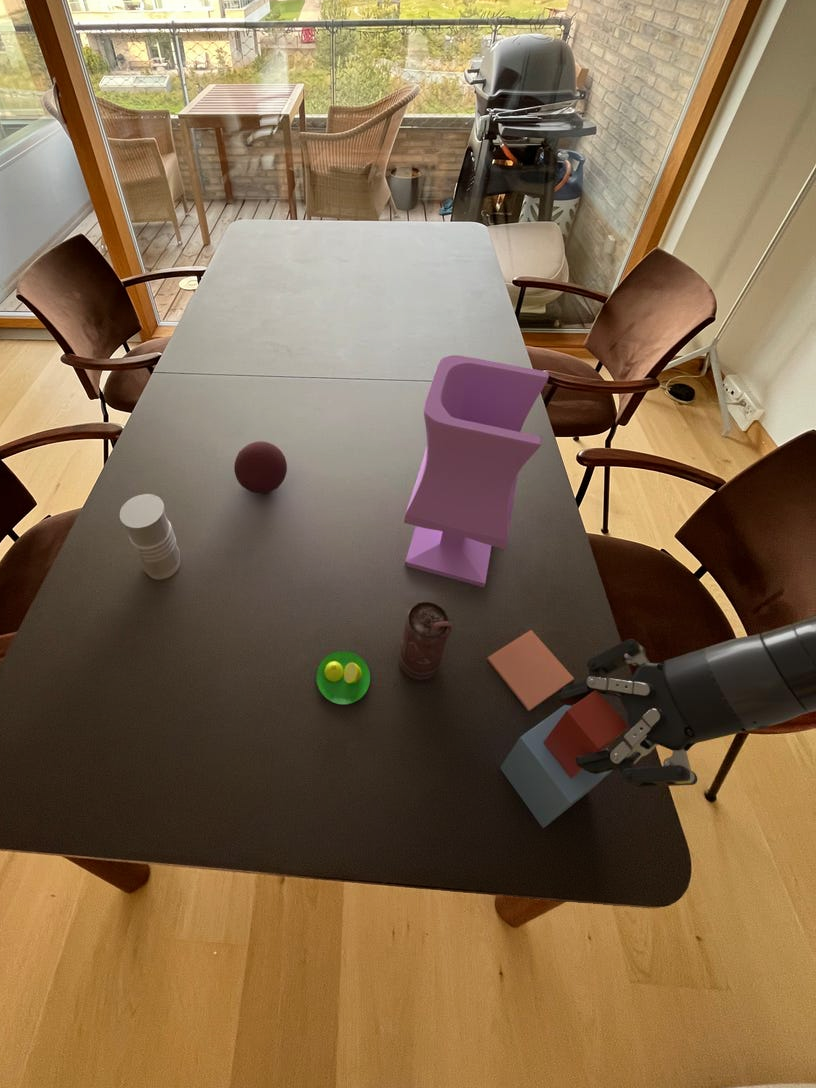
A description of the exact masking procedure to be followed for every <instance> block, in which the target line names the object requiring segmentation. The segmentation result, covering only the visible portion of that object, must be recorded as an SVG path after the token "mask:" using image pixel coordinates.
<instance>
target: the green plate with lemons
mask: <svg viewBox="0 0 816 1088" xmlns="http://www.w3.org/2000/svg"><path fill="white" fill-rule="evenodd" d="M370 683H371V672H370V670H369V666H368V665H367V663H366V661H365V660H364V659H363V658H362V657H361V656H359V655H358V654H357V653H354V652H352V651H347V650H339V651H335V652H332V653H330V654H328V655H327V656H325V657H324V658H323V659H322V660H321V662H320V664H319V665H318V668H317V671H316V684H317V687H318V689H319V692H320V693H321V695H322V696H323V697H324V698H326V699H327V700H328V701H330V702H332V703H335V704H337V705H349V704H353V703H355V702H357V701H359V700H361V698H363V697H364V695H365V694H367V691H368V690H369V686H370Z"/></svg>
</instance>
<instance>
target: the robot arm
mask: <svg viewBox="0 0 816 1088" xmlns="http://www.w3.org/2000/svg"><path fill="white" fill-rule="evenodd" d="M646 654H647V649H646V647H644V646H643V645H641V644H640V642H638V641H636V640H635V639H633V638H628V639H626V640H624V641H622V642H620V643H618V644H616V645H615V646H613V647H610V648H609V649H607V650H604V651H603V652H601V653H599V654H597V655H595V656H593V657H591V658H589V659H588V660H587V662H586V667H587V669H588V676H587V678H586V679H584V680H582V681H578V682H575V683H572V684H569V685H566V686H564V687H563V688H561V692H560V693H558V695H557V696H558V700H559V703H561V704H563V705H571V706H574V705H575V704H576V703H578V702H579V701H581V700H582V699H584V698H585V697H586V696H588V695H589V694H591V693H592V692H593V691H595V690H596V691H597V692H598V693H599V694H600V695H604V696H605V695H606V696H612V697H617V698H619V699H620V701H621V704H622V706H623V708H624V709H625V711H626V713H627V714H626V715H627V722H628V724H629V725H628V726H629V728H630V730H628V731H627V732H626V734H624V735H623V737H622V740H621V741H620V742H619V744H618V745H617V746H616V747H614V749H612V750H611V751H610V750H609V749H608V750H609V751H608V750H604V751H600V752H596V753H592V754H588V755H584V756H580V757H577V758H575V759H576V763H577V766H578V767H581V768H583V769H584V770H585V771H587V772H590V773H593V774H598V773H603V772H607V771H611V770H613V771H616V770H618V771H620V773H621V776H622V779H623V780H624V781H625V782H627V783H629V784H632V785H633V786H636V787H638V788H651V787H652V788H655V787H656V788H657V787H658V788H659V787H677V786H694V785H696V784H697V783H698V776H697V774H696V773H695V771H693V770H692V767H691V764H690V761H689V757H688V753H687V752H688V751H689V750H690V749H691V748H692V747H694V745H696V744H697V743H698V744H699V743H703V742H707V741H711V740H716V739H720V738H724V737H727V736H728V737H729V736H732V735H736V734H741V733H745V732H750V731H752V730H753V731H754V730H763V729H767V728H770V727H771V726H774V725H778V724H782V723H785V722H787V721H790V720H793V719H795V718H797V717H801V716H803V715H807V714H809V713H814V712H816V614H814V615H811V616H808V617H807V618H804V619H802V620H798V621H795V622H792V623H788V624H786V625H783V626H779V627H776V628H773V629H769V630H767V631H763V632H761V633H757V634H752V635H748V636H740V637H735V638H733V639H729V640H726V641H725V640H724V641H722V642H719V643H716V644H713V645H710V646H707V647H703V648H700V649H697V650H693V651H690V652H687V653H685V654H682V655H678V656H674V657H672V658H669V659H666V660H664V661H662V662H658V663H657V662H650V660H649V659H648V656H647V655H646ZM627 665H629V666H632V667H634V666H638V667H637V668H636V669H635V671H634V673H633V674H632V675H631V677H630V678H629V679H628V680H624V679H617V678H611V677H608V678H607V675H609V674H611V673H613V672H616V671H618V670H620V669H621V668H623V667H626V666H627ZM657 746H661V747H663V748H666V749H668V750H670V751H672V754H671V756H670V757H667V758H665V759H664V760H663V762H662V765H657V766H642V767H641V766H640V767H637V766H636V765H635V764H636V763H637V762H639V761H640V760H641V759H642V758H643V757H645V756H647V755H649V754H650V753H652V751H653V750H655V749H656V747H657ZM611 772H612V771H611Z"/></svg>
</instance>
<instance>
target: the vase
mask: <svg viewBox="0 0 816 1088" xmlns="http://www.w3.org/2000/svg"><path fill="white" fill-rule="evenodd" d="M549 377H550V372H549V371H546V370H539V369H534V368H529V367H523V366H519V365H513V364H508V363H502V362H497V361H492V360H487V359H481V358H476V357H472V356H471V357H470V356H464V355H455V354H454V355H448V356H445V357H443V358H441V359H440V360H439V361H438V364H437V367H436V369H435V372H434V375H433V378H432V381H431V384H430V386H429V390H428V392H427V395H426V398H425V402H424V405H423V418H424V424H425V433H426V434H425V435H426V447H425V450H424V454H423V457H422V460H421V463H420V467H419V470H418V474H417V476H416V480H415V483H414V485H413V488H412V489H413V490H412V492H411V495H410V498H409V501H408V504H407V508H406V511H405V513H404V520H403V524H405V525H406V524H407V525H410V526H414V530H413V535H412V537H411V540H410V545H409V548H408V551H407V556H406V558H405V561H404V566H405V567H409V568H412V569H416V570H419V571H423V572H427V573H430V574H434V575H437V576H441V577H445V578H449V579H452V580H455V581H460V582H463V583H467V584H470V585H474V586H477V587H481V588H485V585H486V582H487V581H486V580H487V575H488V569H489V563H490V557H491V552H492V547H496V548H500V549H504V550H506V548H507V544H508V542H509V537H510V529H511V522H512V516H513V515H512V514H513V508H514V501H515V494H516V489H517V482H518V476H519V473H520V471H521V469H522V468H523V467H524V466H525V465H526V463H527V462H528V461H529V460H530V459H531V457H532V456H533V455H534V454H535V453H536V452H537V451H538V450H539V449H540V447H541V446H542V438H543V437H542V436H541V435H536V434H532V433H527V432H521V431H522V428H523V427H524V424H525V422H526V419H527V417H528V415H529V413H530V411H531V410H532V408H533V406H534V404H535V403H536V401H537V399H538V398H539V396H540V395H541V392H542V391H543V390H544V388H545V386H546V385H547V383H548V380H549Z"/></svg>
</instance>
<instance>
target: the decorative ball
mask: <svg viewBox="0 0 816 1088" xmlns="http://www.w3.org/2000/svg"><path fill="white" fill-rule="evenodd" d="M233 465H234V466H233V467H234V470H233V471H234V476H235V478H236V480H237V482H238V483H239V485H240V487H242V488H243V489H245V490H247V491H248V492H250V493H252V494H259V495H260V494H261V495H262V494H269V493H270V492H273V491H275V490H276V489H278V488H279V487H281V485H282V484H283V482H284V480H285V479H286V475H287V471H288V463H287V459H286V456H285V455H284V453H283V451H282V450H281V449H280V448H279V447H278V446H277V445H275V444H274V443H270V442H268V441H261V440H260V441H259V440H258V441H253V442H251V443H248V444H247V445H245V446H244V447H242V449H240V450H239V452H238V454H237V455H236V457H235V460H234V464H233Z"/></svg>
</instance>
